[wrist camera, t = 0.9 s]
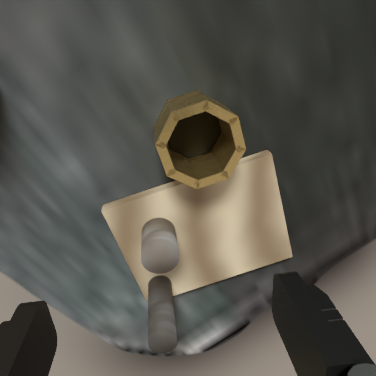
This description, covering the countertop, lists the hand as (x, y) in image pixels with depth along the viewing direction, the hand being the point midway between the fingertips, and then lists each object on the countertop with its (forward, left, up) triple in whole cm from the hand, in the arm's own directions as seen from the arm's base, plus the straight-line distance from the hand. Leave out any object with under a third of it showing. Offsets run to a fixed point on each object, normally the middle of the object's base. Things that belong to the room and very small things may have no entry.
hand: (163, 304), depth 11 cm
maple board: (-2, +9, -18) cm, 21 cm away
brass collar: (-4, -1, -18) cm, 19 cm away
